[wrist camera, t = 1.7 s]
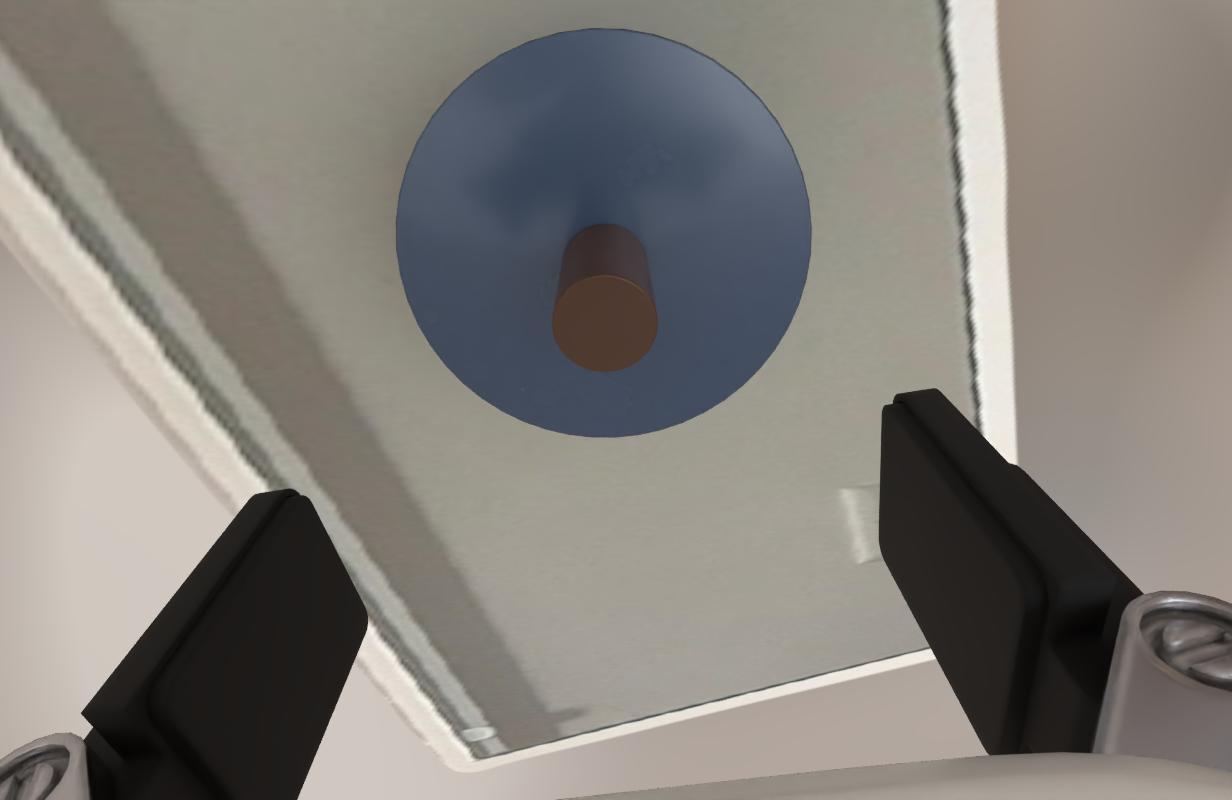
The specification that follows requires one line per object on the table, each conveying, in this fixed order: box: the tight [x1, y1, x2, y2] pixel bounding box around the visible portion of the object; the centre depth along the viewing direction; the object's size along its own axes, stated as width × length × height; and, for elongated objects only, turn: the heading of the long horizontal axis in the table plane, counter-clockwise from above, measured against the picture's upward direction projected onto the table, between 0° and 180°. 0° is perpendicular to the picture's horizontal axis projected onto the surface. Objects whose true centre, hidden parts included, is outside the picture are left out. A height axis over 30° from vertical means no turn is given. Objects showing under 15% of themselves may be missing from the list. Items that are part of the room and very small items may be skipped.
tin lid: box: [396, 28, 812, 438], centre depth 20 cm, size 14×14×6 cm
